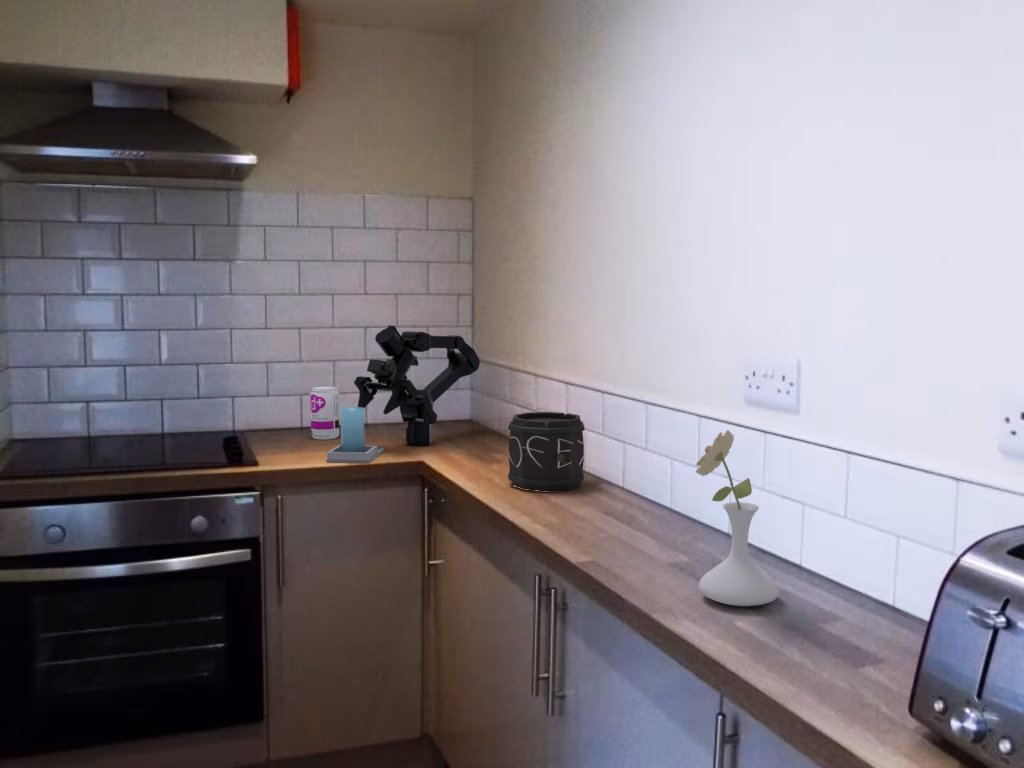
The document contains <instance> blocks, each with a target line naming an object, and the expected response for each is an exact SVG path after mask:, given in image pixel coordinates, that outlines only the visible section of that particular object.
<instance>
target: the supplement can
mask: <svg viewBox="0 0 1024 768" xmlns="http://www.w3.org/2000/svg"><path fill="white" fill-rule="evenodd" d="M309 394H310V397H309V399H310V401H309V403H310V437H312V438H313V440H317V441H318V440H319V441H320V440H321V441H323V440H325V441H327V440H335V439H337V438H338V437H339V436H340V411H339V410H340V407H339V406H340V405H339V402H340V401H339V400H340V399H339V391H338V390H337V387H336V386H331V385H329V386H328V385H327V386H326V385H325V386H323V385H322V386H313V387H312V388H311V391H310V393H309Z"/></svg>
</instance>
